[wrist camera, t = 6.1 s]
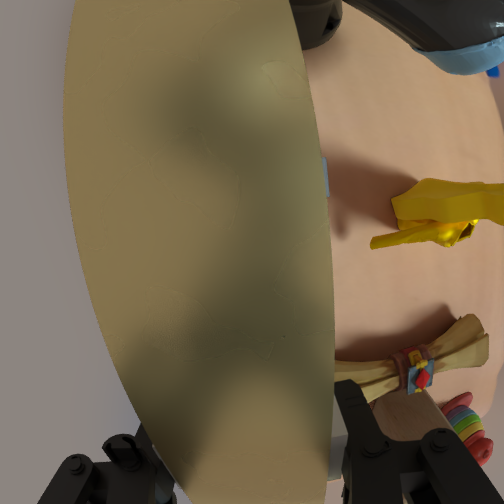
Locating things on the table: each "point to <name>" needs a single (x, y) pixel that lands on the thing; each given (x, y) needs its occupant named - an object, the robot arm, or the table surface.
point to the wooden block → (408, 416)
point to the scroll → (420, 361)
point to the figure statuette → (442, 212)
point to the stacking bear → (468, 427)
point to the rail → (207, 237)
